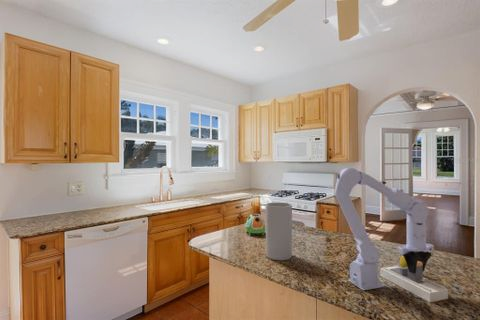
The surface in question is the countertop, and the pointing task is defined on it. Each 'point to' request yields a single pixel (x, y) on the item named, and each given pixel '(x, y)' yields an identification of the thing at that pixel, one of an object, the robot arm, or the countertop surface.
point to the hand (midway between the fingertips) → (416, 271)
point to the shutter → (401, 271)
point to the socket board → (416, 285)
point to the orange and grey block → (417, 272)
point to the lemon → (403, 262)
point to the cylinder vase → (279, 231)
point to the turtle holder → (255, 224)
